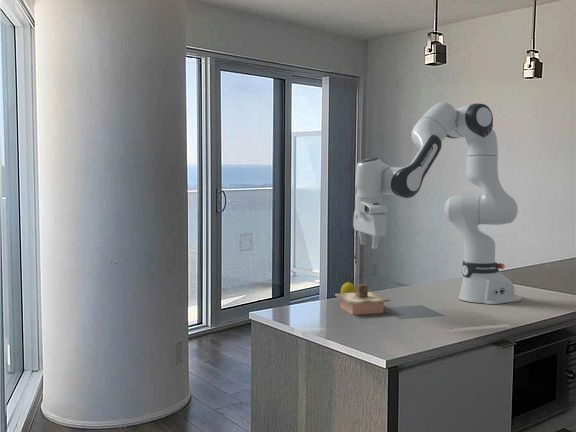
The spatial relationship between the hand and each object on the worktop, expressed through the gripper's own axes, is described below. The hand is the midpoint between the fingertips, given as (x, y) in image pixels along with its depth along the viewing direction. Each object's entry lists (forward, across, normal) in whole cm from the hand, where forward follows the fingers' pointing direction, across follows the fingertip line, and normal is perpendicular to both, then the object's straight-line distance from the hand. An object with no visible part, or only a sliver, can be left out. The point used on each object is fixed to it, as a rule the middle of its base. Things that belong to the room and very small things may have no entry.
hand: (369, 246), depth 213 cm
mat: (+22, +10, +11) cm, 27 cm away
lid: (+17, +3, -4) cm, 18 cm away
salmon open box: (+22, +3, -4) cm, 23 cm away
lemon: (+23, -12, -3) cm, 26 cm away
